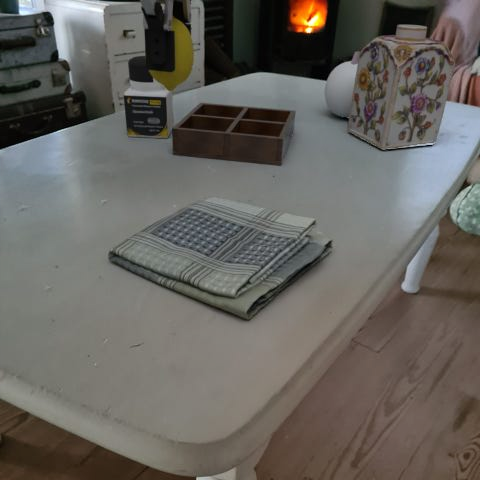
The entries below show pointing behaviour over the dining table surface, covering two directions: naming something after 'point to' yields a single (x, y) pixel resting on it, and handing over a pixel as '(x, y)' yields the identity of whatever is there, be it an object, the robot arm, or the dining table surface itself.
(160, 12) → the robot arm
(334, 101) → the ornament
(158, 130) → the medicine bottle
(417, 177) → the dining table surface
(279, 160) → the divided wooden tray
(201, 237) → the dish towel
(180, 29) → the lemon
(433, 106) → the decorative jar
